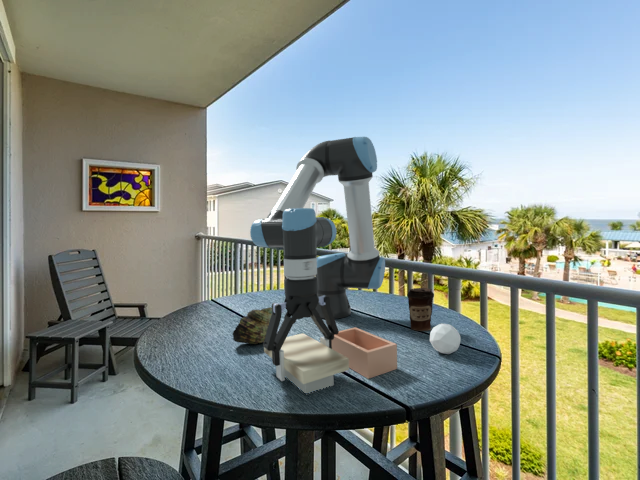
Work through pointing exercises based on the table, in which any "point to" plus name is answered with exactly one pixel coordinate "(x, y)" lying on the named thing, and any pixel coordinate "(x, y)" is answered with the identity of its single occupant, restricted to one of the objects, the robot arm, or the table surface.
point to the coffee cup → (420, 308)
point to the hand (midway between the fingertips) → (303, 371)
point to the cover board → (310, 359)
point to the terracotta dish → (366, 352)
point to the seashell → (253, 327)
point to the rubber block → (311, 383)
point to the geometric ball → (445, 338)
